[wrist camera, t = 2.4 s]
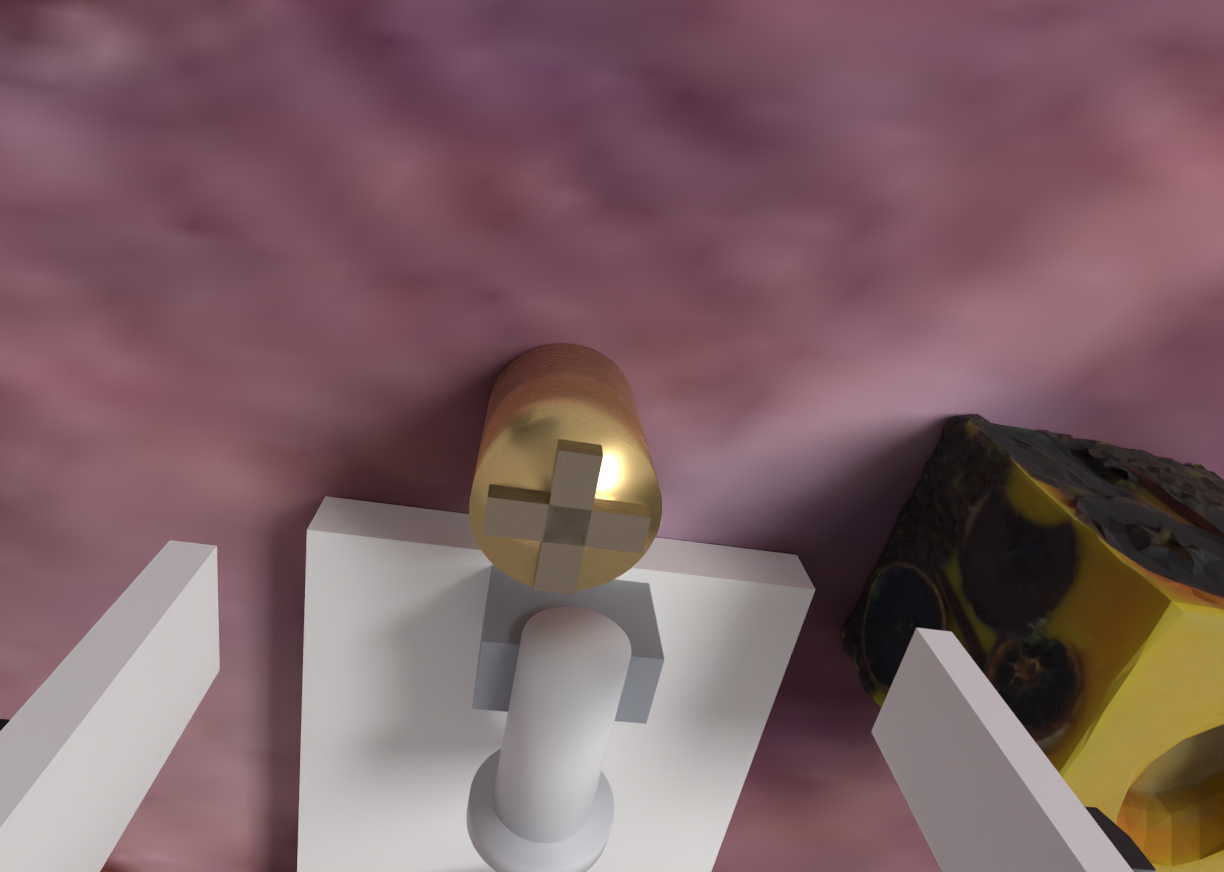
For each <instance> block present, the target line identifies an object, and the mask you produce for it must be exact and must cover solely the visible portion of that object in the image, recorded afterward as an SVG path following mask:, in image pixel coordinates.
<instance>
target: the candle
mask: <svg viewBox="0 0 1224 872" xmlns="http://www.w3.org/2000/svg"><path fill="white" fill-rule="evenodd" d="M916 628H924V629H933V630H941V631H950V632H952V633H953V634H954V635H955V637H956V638H957V639H958V641H959V642H960V643H961V645H962V646H963V647H964V649H965V650H966V651H967V652H968V654H969V655H970V656H971V658H972V659H973V660H974V662H975V663H976V664H977V666H978V667H979V668H980V670H981V671H982V672H983V674H984V675H985V676H986V678H987V679H988V680H989V682H990V683H991V684H992V685H993V687H994V688H995V689H996V691H997V692H998V693H999V695H1000V696H1001V697H1002V699H1003V700H1004V701H1005V703H1006V704H1007V705H1008V707H1009V708H1010V709H1011V711H1012V712H1013V713H1014V714H1015V716H1016V717H1017V718H1018V720H1019V721H1020V722H1021V724H1022V725H1023V726H1024V728H1025V729H1026V730H1027V732H1028V733H1029V734H1030V736H1031V737H1032V738H1033V740H1034V741H1035V742H1036V744H1037V745H1038V746H1039V747H1040V749H1041V750H1042V751H1043V753H1044V754H1045V755H1046V757H1047V758H1048V759H1049V761H1050V762H1051V763H1052V765H1053V766H1054V767H1055V769H1056V770H1057V771H1058V773H1059V774H1060V775H1061V776H1062V778H1063V779H1064V780H1065V782H1066V783H1067V784H1068V786H1069V787H1070V788H1071V790H1072V791H1073V792H1074V794H1075V795H1076V796H1077V798H1078V799H1079V800H1080V802H1081V803H1082V804H1083V806H1085V807H1097V808H1098V809H1099V810H1100V811H1101V812H1102V813H1103V814H1105V815H1106V816H1107V817H1108V818H1109V819H1110V820H1112V821H1113V822H1114V823H1115V824H1116V825H1117V826H1118V827H1120V828H1121V829H1122V830H1123V831H1124V832H1125V833H1126V834H1128V835H1129V836H1130V837H1131V839H1132V840H1133V841H1134V842H1135V844H1136V845H1137V846H1138V847H1139V849H1140V850H1141V851H1142V852H1143V854H1144V855H1145V856H1146V858H1147V859H1148V860H1149V861H1150V863H1151V864H1152V865H1153V866H1154V868H1155V869H1156V871H1155V872H1224V480H1223V479H1222V478H1220V477H1219V476H1218V475H1217V474H1215V473H1214V472H1211V471H1208V470H1207V469H1205V468H1204V467H1203V466H1202V465H1201V464H1199V465H1190V466H1184V465H1182V464H1181V463H1179V462H1177V461H1175V460H1173V459H1162V458H1158V457H1156V456H1154V455H1152V454H1150V453H1148V452H1146V451H1144V450H1133V449H1124V448H1120V447H1117V446H1114V445H1111V444H1107V443H1104V442H1101V441H1093V440H1082V439H1073V437H1072V436H1071V435H1057V434H1055V433H1052V432H1050V431H1047V430H1044V431H1033V430H1028V429H1023V428H1018V427H1009V426H1002V425H998V424H993V423H991V422H989V421H988V420H986V419H984V418H983V417H981V416H980V415H979V414H975V415H964V416H955V417H954V418H953V419H952V420H951V421H950V422H949V423H948V424H946V425H945V426H944V427H943V440H942V441H941V443H940V444H939V446H938V447H937V449H936V451H935V453H934V454H933V456H932V457H931V458H930V460H929V461H928V462H927V463H926V465H925V468H924V472H923V476H922V479H921V481H920V483H919V484H918V486H917V489H916V491H915V493H914V495H913V497H912V501H910V502H909V503H908V504H906V505H905V506H904V507H903V509H902V512H901V514H900V517H899V519H898V521H897V524H896V526H895V529H894V531H893V533H892V536H891V538H890V540H889V543H888V545H887V547H886V549H885V551H884V553H883V555H882V557H881V560H880V562H879V564H878V566H877V568H876V570H875V572H874V573H873V574H872V575H871V576H870V578H869V579H868V580H867V586H866V591H865V595H864V596H863V598H862V599H861V600H860V602H859V604H858V605H857V607H856V609H855V611H854V613H853V615H852V617H851V619H850V620H849V621H848V623H847V624H846V625H845V627H844V628H843V633H842V641H843V648H844V650H845V651H846V653H847V654H848V655H849V656H850V657H851V659H852V661H853V663H854V665H855V667H856V668H857V670H858V672H859V673H858V675H859V679H860V681H861V683H862V685H863V687H864V690H865V691H866V692H867V693H868V694H869V695H870V696H871V697H872V698H873V699H874V701H875V702H876V703H877V704H878V705H879V706H880V707H881V708H882V706H883V703H884V701H885V699H886V696H887V694H888V692H889V690H890V687H891V685H892V683H893V680H894V678H895V676H896V673H897V671H898V669H899V666H900V664H901V662H902V660H903V657H904V655H905V653H906V650H907V648H908V646H909V643H910V641H911V639H912V637H913V634H914V632H915V630H916Z"/></svg>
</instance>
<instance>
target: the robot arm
mask: <svg viewBox="0 0 1224 872" xmlns="http://www.w3.org/2000/svg"><path fill="white" fill-rule="evenodd" d="M219 670H220V666H219V620H218V574H217V546H215V545H206V544H197V543H189V542H180V541H172V540H170V541H169V542H168V543H167V544H166V545H165V546H164V547H163V548H162V550H161V551H160V552H159V553H158V554H157V555H156V556H155V557H154V559H153V560H152V561H151V562H150V563H149V564H148V565H147V566H146V568H145V569H144V570H143V571H142V572H141V573H140V574H139V575H138V577H137V578H136V579H135V580H134V581H133V582H132V583H131V585H130V586H129V587H128V588H127V589H126V590H125V591H124V592H123V594H122V595H121V596H120V597H119V598H118V599H117V600H116V601H115V603H114V604H113V605H112V606H111V607H110V608H109V609H108V610H107V612H106V613H105V614H104V615H103V616H102V617H101V618H100V619H99V621H98V622H97V623H96V624H95V625H94V626H93V627H92V628H91V630H90V631H89V632H88V633H87V634H86V635H85V636H84V638H83V639H82V640H81V641H80V642H79V643H78V644H77V645H76V647H75V648H74V649H73V650H72V651H71V652H70V653H69V654H68V656H67V657H66V658H65V659H64V660H63V661H62V662H61V663H60V665H59V666H58V667H57V668H56V669H55V670H54V671H53V672H52V674H51V675H50V676H49V677H48V678H47V679H46V680H45V681H44V683H43V684H42V685H41V686H40V687H39V688H38V689H37V690H36V692H35V693H34V694H33V695H32V696H31V697H30V698H29V700H28V701H27V702H26V703H25V704H24V705H23V706H22V707H21V709H20V710H19V711H18V712H17V713H16V714H15V715H14V716H13V718H12V719H11V720H6V719H0V872H100V871H101V869H102V867H103V866H104V864H105V862H106V861H107V859H108V857H109V855H110V854H111V852H112V850H113V849H114V847H115V845H116V844H117V842H118V840H119V839H120V837H121V835H122V834H123V832H124V830H125V829H126V827H127V825H128V823H129V822H130V820H131V818H132V817H133V815H134V813H135V812H136V810H137V808H138V807H139V805H140V803H141V802H142V800H143V798H144V797H145V795H146V793H147V792H148V790H149V788H150V786H151V785H152V783H153V781H154V780H155V778H156V776H157V775H158V773H159V771H160V770H161V768H162V766H163V765H164V763H165V761H166V760H167V758H168V756H169V754H170V753H171V751H172V749H173V748H174V746H175V744H176V743H177V741H178V739H179V738H180V736H181V734H182V733H183V731H184V729H185V728H186V726H187V724H188V722H189V721H190V719H191V717H192V716H193V714H194V712H195V711H196V709H197V707H198V706H199V704H200V702H201V701H202V699H203V697H204V696H205V694H206V692H207V690H208V689H209V687H210V685H211V684H212V682H213V680H214V679H215V677H216V675H217V674H218V672H219ZM871 732H872V734H873V736H874V738H875V740H876V742H877V744H878V746H879V748H880V750H881V752H882V754H883V756H884V758H885V760H886V762H887V764H888V766H889V768H890V770H891V772H892V774H893V776H894V778H895V780H896V782H897V784H898V786H899V788H900V790H901V791H902V793H903V795H904V797H905V799H906V801H907V803H908V805H909V807H910V809H911V811H912V813H913V815H914V817H915V819H916V821H917V823H918V825H919V827H920V829H921V831H922V833H923V835H924V837H925V839H926V841H927V843H928V845H929V847H930V849H931V851H932V853H933V855H934V856H935V858H936V860H937V862H938V864H939V866H940V868H941V870H942V872H1155V871H1156V869H1155V868H1154V866H1153V865H1152V864H1151V863H1150V861H1149V860H1148V859H1147V858H1146V856H1145V855H1144V854H1143V852H1142V851H1141V850H1140V849H1139V847H1138V846H1137V845H1136V844H1135V842H1134V841H1133V840H1132V839H1131V837H1130V836H1129V835H1128V834H1126V833H1125V832H1124V831H1123V830H1122V829H1121V828H1120V827H1118V826H1117V825H1116V824H1115V823H1114V822H1113V821H1112V820H1110V819H1109V818H1108V817H1107V816H1106V815H1105V814H1103V813H1102V812H1101V811H1100V810H1099V809H1098V808H1097V807H1085V806H1083V804H1082V803H1081V802H1080V800H1079V799H1078V798H1077V796H1076V795H1075V794H1074V792H1073V791H1072V790H1071V788H1070V787H1069V786H1068V784H1067V783H1066V782H1065V780H1064V779H1063V778H1062V776H1061V775H1060V774H1059V773H1058V771H1057V770H1056V769H1055V767H1054V766H1053V765H1052V763H1051V762H1050V761H1049V759H1048V758H1047V757H1046V755H1045V754H1044V753H1043V751H1042V750H1041V749H1040V747H1039V746H1038V745H1037V744H1036V742H1035V741H1034V740H1033V738H1032V737H1031V736H1030V734H1029V733H1028V732H1027V730H1026V729H1025V728H1024V726H1023V725H1022V724H1021V722H1020V721H1019V720H1018V718H1017V717H1016V716H1015V714H1014V713H1013V712H1012V711H1011V709H1010V708H1009V707H1008V705H1007V704H1006V703H1005V701H1004V700H1003V699H1002V697H1001V696H1000V695H999V693H998V692H997V691H996V689H995V688H994V687H993V685H992V684H991V683H990V682H989V680H988V679H987V678H986V676H985V675H984V674H983V672H982V671H981V670H980V668H979V667H978V666H977V664H976V663H975V662H974V660H973V659H972V658H971V656H970V655H969V654H968V652H967V651H966V650H965V649H964V647H963V646H962V645H961V643H960V642H959V641H958V639H957V638H956V637H955V635H954V634H953V633H952V632H950V631H941V630H933V629H924V628H916V630H915V632H914V634H913V637H912V639H911V641H910V643H909V646H908V648H907V650H906V653H905V655H904V657H903V660H902V662H901V664H900V666H899V669H898V671H897V673H896V676H895V678H894V680H893V683H892V685H891V687H890V690H889V692H888V694H887V696H886V699H885V701H884V703H883V706H882V708H881V710H880V713H879V715H878V717H877V719H876V722H875V724H874V726H873V729H872V731H871Z"/></svg>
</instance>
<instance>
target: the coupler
mask: <svg viewBox="0 0 1224 872" xmlns="http://www.w3.org/2000/svg"><path fill="white" fill-rule="evenodd" d="M661 515H662V500H661V492H660V489H659V485H658V481H657V478H656V474H655V471H654V467H653V463H652V460H651V456H650V452H649V449H648V445H647V442H646V438H645V434H644V431H643V427H642V424H641V420H640V416H639V413H638V409H637V406H636V402H635V398H634V395H633V391H632V388H631V386H630V384H629V382H628V380H627V378H626V377H625V375H624V373H623V372H622V371H621V370H620V369H619V367H618V366H617V365H616V364H615V363H613V362H612V361H611V360H610V359H609V358H607V357H606V356H604V355H603V354H601V353H599V352H597V351H595V350H593V349H590V348H588V347H585V346H580V345H576V344H567V343H557V344H549V345H544V346H540V347H537V348H534V349H532V350H529V351H527V352H525V353H523V354H522V355H520V356H518V357H517V358H516V359H514V360H513V361H512V362H511V363H510V364H509V365H508V366H507V367H506V368H505V369H504V370H503V371H502V373H501V374H500V375H499V377H498V378H497V380H496V382H495V384H494V386H493V389H492V391H491V394H490V399H489V404H488V409H487V414H486V419H485V424H484V429H483V434H482V439H481V445H480V450H479V455H478V460H477V465H476V470H475V475H474V480H473V485H472V491H471V496H470V502H469V517H470V524H471V528H472V532H473V535H474V537H475V540H476V542H477V544H478V546H479V547H480V549H481V551H482V552H483V554H484V555H485V556H486V557H487V558H488V560H489V561H490V562H491V563H492V564H493V565H494V566H495V567H496V568H497V569H499V570H500V571H501V572H503V573H504V574H506V575H507V576H509V577H510V578H512V579H514V580H516V581H518V582H520V583H523V584H525V585H528V586H531V587H534V591H543V592H552V593H561V594H570V595H574V594H575V591H579V590H585V589H589V588H593V587H597V586H600V585H602V584H605V583H608V582H610V581H612V580H614V579H616V578H617V577H619V576H621V575H622V574H624V573H625V572H627V571H628V570H630V569H631V568H632V567H633V566H634V565H635V564H636V563H638V562H639V560H640V559H641V558H642V557H643V556H644V555H645V554H646V552H647V551H648V549H649V548H650V546H651V545H652V543H653V541H654V539H655V537H656V534H657V531H658V528H659V525H660V520H661Z"/></svg>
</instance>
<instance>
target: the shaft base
mask: <svg viewBox="0 0 1224 872" xmlns="http://www.w3.org/2000/svg"><path fill="white" fill-rule="evenodd" d="M814 592H815V588H814V586H813V584H812V582H811V580H810V578H809V576H808V575H807V573H806V571H805V569H804V567H803V565H802V563H801V562H800V560H799V558H798V556H797V555H794V554H786V553H778V552H770V551H762V550H754V549H745V548H737V547H729V546H721V545H713V544H705V543H697V542H689V541H681V540H673V539H665V538H657V537H655V539H654V541H653V543H652V545H651V546H650V548H649V549H648V551H647V552H646V554H645V555H644V556H643V557H642V558H641V559H640V560H639V562H638V563H636V564H635V565H634V566H633V567H632V568H631V569H630V570H628V571H627V572H625V573H624V574H622V575H621V576H619V577H617V578H616V579H614V580H612V581H610V582H608V583H605V584H602V585H600V586H597V587H593V588H589V589H585V590H579V591H575V594H574V595H570V594H561V593H552V592H543V591H534V587H531V586H528V585H525V584H523V583H520V582H518V581H516V580H514V579H512V578H510V577H509V576H507V575H506V574H504V573H503V572H501V571H500V570H499V569H497V568H496V567H495V566H494V565H493V564H492V563H491V562H490V561H489V560H488V558H487V557H486V556H485V555H484V554H483V552H482V551H481V549H480V547H479V546H478V544H477V542H476V540H475V537H474V535H473V532H472V528H471V524H470V517H469V514H464V513H456V512H448V511H440V510H432V509H424V508H416V507H408V506H400V505H392V504H384V503H376V502H368V501H360V500H352V499H344V498H336V497H328V496H325V498H324V500H323V502H322V503H321V505H320V507H319V509H318V511H317V512H316V514H315V516H314V518H313V520H312V521H311V523H310V525H309V527H308V529H307V544H306V579H305V614H304V649H303V684H302V719H301V753H300V788H299V823H298V858H297V872H711V871H712V868H713V865H714V862H715V860H716V857H717V854H718V852H719V849H720V846H721V844H722V841H723V838H724V835H725V833H726V830H727V827H728V825H729V822H730V819H731V816H732V814H733V811H734V808H735V806H736V803H737V800H738V798H739V795H740V792H741V789H742V787H743V784H744V781H745V779H746V776H747V773H748V771H749V768H750V765H751V762H752V760H753V757H754V754H755V752H756V749H757V746H758V744H759V741H760V738H761V735H762V733H763V730H764V727H765V725H766V722H767V719H768V716H769V714H770V711H771V708H772V706H773V703H774V700H775V698H776V695H777V692H778V689H779V687H780V684H781V681H782V679H783V676H784V673H785V671H786V668H787V665H788V662H789V660H790V657H791V654H792V652H793V649H794V646H795V644H796V641H797V638H798V635H799V633H800V630H801V627H802V625H803V622H804V619H805V616H806V614H807V611H808V608H809V606H810V603H811V600H812V598H813V595H814Z"/></svg>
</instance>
